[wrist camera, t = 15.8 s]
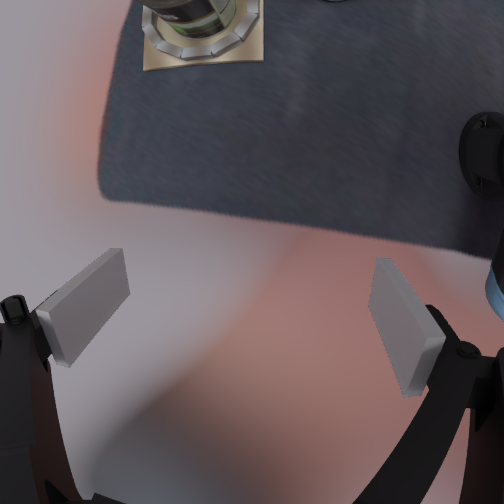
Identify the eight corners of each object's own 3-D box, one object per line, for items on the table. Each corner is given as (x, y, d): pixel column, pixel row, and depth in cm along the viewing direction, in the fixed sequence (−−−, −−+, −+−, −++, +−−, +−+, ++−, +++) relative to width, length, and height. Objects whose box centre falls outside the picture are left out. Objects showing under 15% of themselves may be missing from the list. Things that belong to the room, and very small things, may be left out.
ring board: (263, -34, 32) (261, -45, 28) (263, 61, 38) (262, 55, 35) (152, -20, 33) (144, -29, 30) (146, 71, 40) (136, 67, 36)
